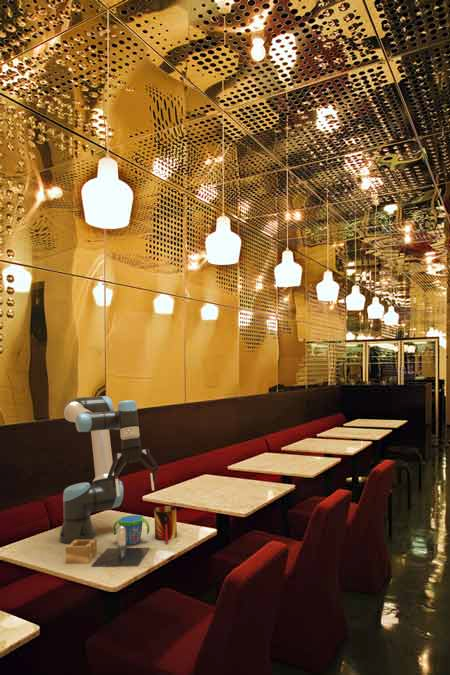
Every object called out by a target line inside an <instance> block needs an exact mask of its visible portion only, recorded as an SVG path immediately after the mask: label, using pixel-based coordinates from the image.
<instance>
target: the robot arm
mask: <svg viewBox="0 0 450 675" xmlns="http://www.w3.org/2000/svg"><path fill="white" fill-rule="evenodd" d="M114 407H115V406H114V404H113V400H112V399H111V398H110V397H109V396H104V395H103V396H101V395H99V396H85V397H84V396H83V397H76V398H72V399H70V400H68V401H67V402H66V403H65V404H64V405H63V408H62V416H63V418H64V419H65V420H66V421H68V422H70V423H75V428H76V431H77V432H78V433H88V432H90V433H91V434H90V435H91V443H92V444H91V445H92V454H93V466H94V476H95V477H94V479H93V480H92V485H91V484H90V483H89V482H85V481H84V482H80V483H75V484H72V485H69V486H67V487H66V488H65V489H63V496H62V503H63V506H62V507H63V523H62V525H61V526H62V527H61V530H60V534H59V542H60V543H62V544H68V545H69V544H71V543H72V542H73V541H74V540H83V539H94V538H95V536H96V534H95V533H96V531H95V528H94V525H93V522H92V519H91V513H93V512H98V511H104V510H111V509H115V508H118V507H120V506H121V504H122V502H123V499H124V484H123V482H122V480H119V477H118V476H119V474H120V473H121V472H122V471H123V470H122V469H123V468H124V467H125V466H126V464H127V463H128V464H132V463H137V462H140V463H141V464H143V466H145V467H146V468H147V470H150V473H149V474H150V475H149V476H150V483H151V491H155V482H156V481H157V475H156V473H157V472H158V471H160V467H159V466H158V464H157V462H156V461H155V458H153V456H152V455H151V453H150V449H149V448H145V449H142V447H141V446H142V445H141V438H140V428H139V416H138V407H137V403H136V401H135V400H134V399H133V400H132V399H130V400H129V399H128V400H127V399H126V400H123V401H119V402H118V403H117V410H115V408H114ZM110 430H116V431H120V439H121V441H120V442H121V443H120V444H121V453H117V452H114V454H113V452H112V446H111V435H110ZM112 454H113V455H112ZM143 454H145V455H146V456H147V457H148V459H149V461H150V463H152V465H153V466H154V468H153V467H152V466H151V465H150V464H148V462H146V461H145V460H144V459H143V458H142V455H143ZM120 457H121V458H122V459H123V460H122V462H121V464H120V465H119V467H118V468H117V469H116V471H115V468H116V466H117V463H118V461H119V459H120ZM114 471H115V472H114Z"/></svg>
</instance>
